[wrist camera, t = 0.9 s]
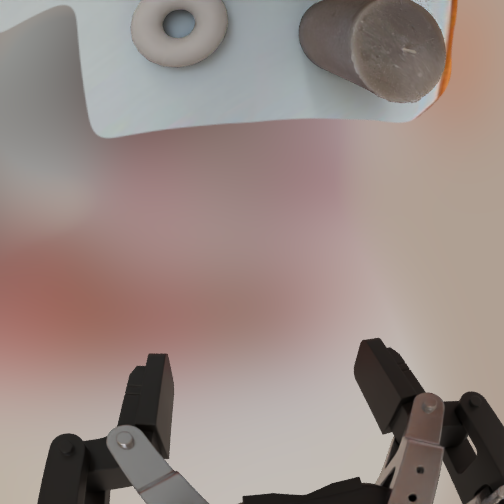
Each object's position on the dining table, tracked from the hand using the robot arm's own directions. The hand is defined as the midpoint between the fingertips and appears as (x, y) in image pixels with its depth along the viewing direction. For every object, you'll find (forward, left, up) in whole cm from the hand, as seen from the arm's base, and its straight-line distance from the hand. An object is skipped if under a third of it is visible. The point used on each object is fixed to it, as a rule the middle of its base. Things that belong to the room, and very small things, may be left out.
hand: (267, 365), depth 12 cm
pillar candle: (+2, +18, -30) cm, 35 cm away
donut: (-11, +6, -30) cm, 33 cm away
